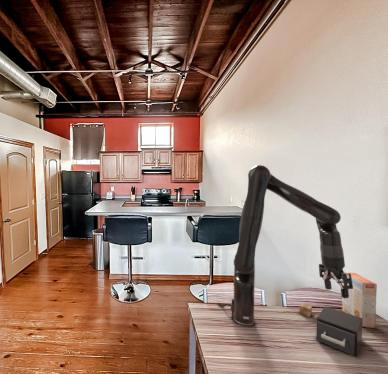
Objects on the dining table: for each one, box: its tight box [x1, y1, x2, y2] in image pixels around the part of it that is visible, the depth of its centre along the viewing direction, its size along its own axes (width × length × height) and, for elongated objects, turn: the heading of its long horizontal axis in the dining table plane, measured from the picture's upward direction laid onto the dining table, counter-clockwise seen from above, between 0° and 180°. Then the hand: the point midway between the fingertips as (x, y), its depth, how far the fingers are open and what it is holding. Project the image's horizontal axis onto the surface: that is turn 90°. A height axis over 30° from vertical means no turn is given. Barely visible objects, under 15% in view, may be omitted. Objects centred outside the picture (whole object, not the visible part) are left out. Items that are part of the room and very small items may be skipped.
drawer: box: [316, 321, 355, 356], centre depth 95 cm, size 18×11×8 cm, turn 130°
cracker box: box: [341, 271, 378, 329], centre depth 114 cm, size 14×6×21 cm, turn 168°
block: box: [299, 302, 313, 318], centre depth 118 cm, size 4×4×4 cm
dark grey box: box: [316, 305, 363, 357], centre depth 99 cm, size 15×13×10 cm
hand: (336, 293), depth 98 cm, fingers open, 8 cm apart
